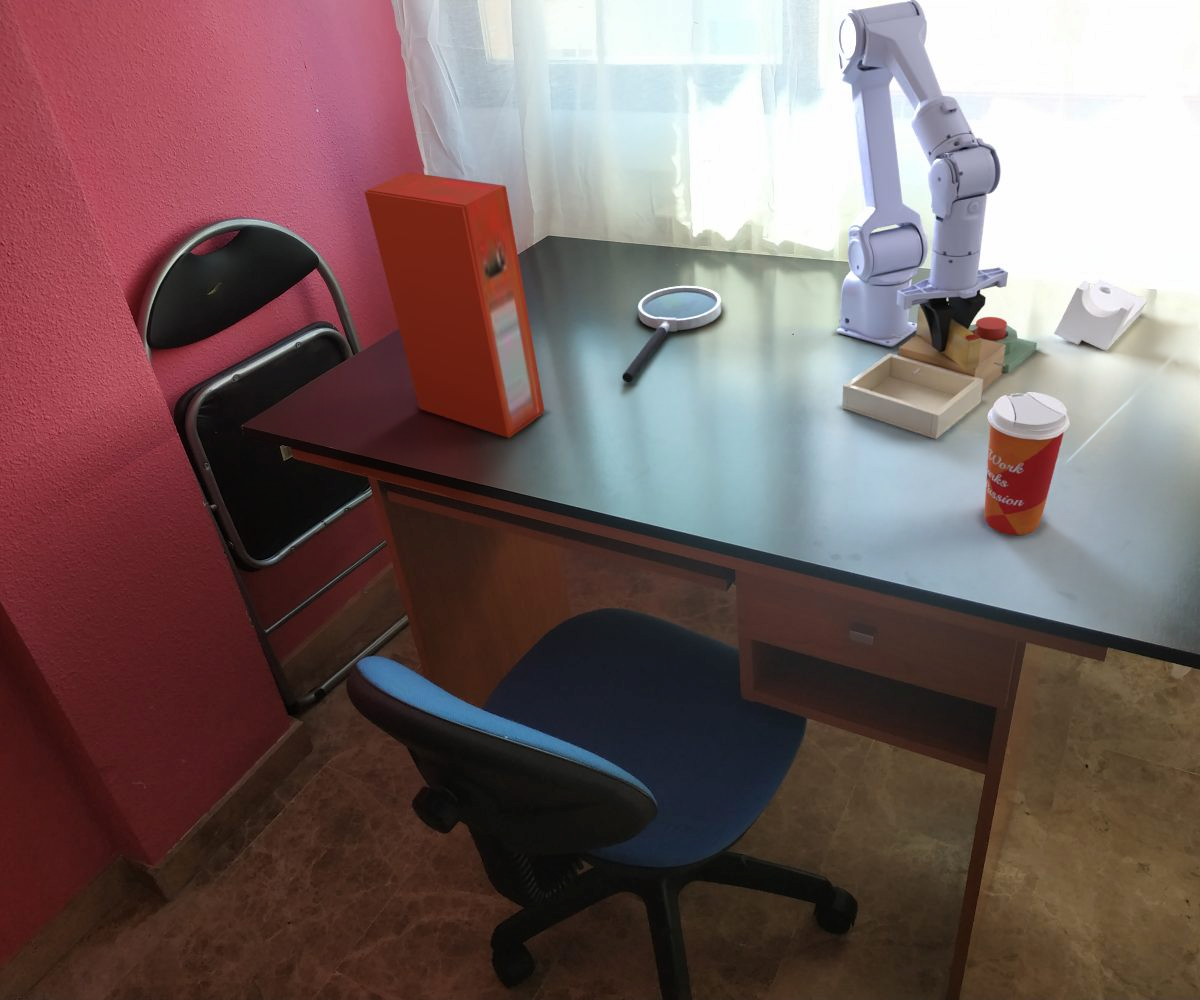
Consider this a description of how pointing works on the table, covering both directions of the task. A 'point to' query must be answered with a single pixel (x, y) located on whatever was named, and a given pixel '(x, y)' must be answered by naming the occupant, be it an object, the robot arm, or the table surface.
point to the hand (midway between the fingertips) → (946, 346)
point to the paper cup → (1022, 459)
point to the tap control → (1013, 348)
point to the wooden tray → (912, 395)
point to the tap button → (991, 328)
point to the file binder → (458, 298)
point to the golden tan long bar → (954, 342)
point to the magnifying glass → (673, 316)
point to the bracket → (1099, 314)
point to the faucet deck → (927, 354)
